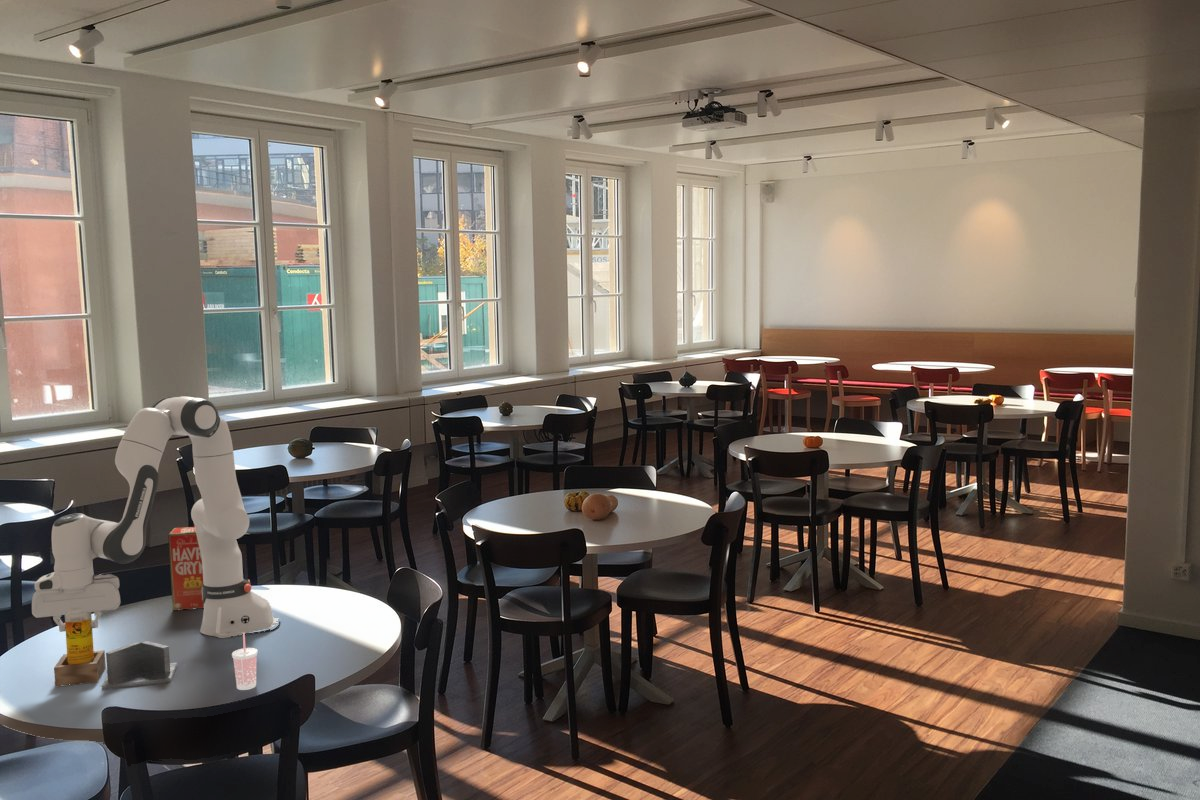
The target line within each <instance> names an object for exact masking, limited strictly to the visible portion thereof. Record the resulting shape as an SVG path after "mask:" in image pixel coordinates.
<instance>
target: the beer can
mask: <svg viewBox="0 0 1200 800" xmlns="http://www.w3.org/2000/svg"><path fill="white" fill-rule="evenodd" d="M92 620H93V618H92V612H85V611H83V610H82V609H81V608H77V609H70V611H69V612H68V613H67V614H66V615H64V623H65V628H66V631H65V640H66V644H65V645H66V654H67V661H68V664H69V665H70V664H80V663H89V662H92V661H93V660H94V637H93V636H94V635H93V628H91V624H90V622H91V621H92Z"/></svg>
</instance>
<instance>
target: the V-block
mask: <svg viewBox="0 0 1200 800" xmlns="http://www.w3.org/2000/svg"><path fill="white" fill-rule="evenodd" d="M105 661H106V669H107V670H106V672H107V676H106V678H105V679H104V681H103V683H102V685H101V690H110V689H112V690H113V689H119V688H130V687H138V686H146V685H155V684H156V685H157V684H164V683H171V682H172V679H173V677H174V674H175V672H176V669H177V666H178V662H171V659H170V646H169V645H165V644H162V643H157V642H154V641H153V642H152V641H149V640H145V641H142V642H139V641H135V642H133V643H130V644H127V645H124V646H121V647H119V648H116V649H113V650H109V651H107V652H106V653H105Z"/></svg>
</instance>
